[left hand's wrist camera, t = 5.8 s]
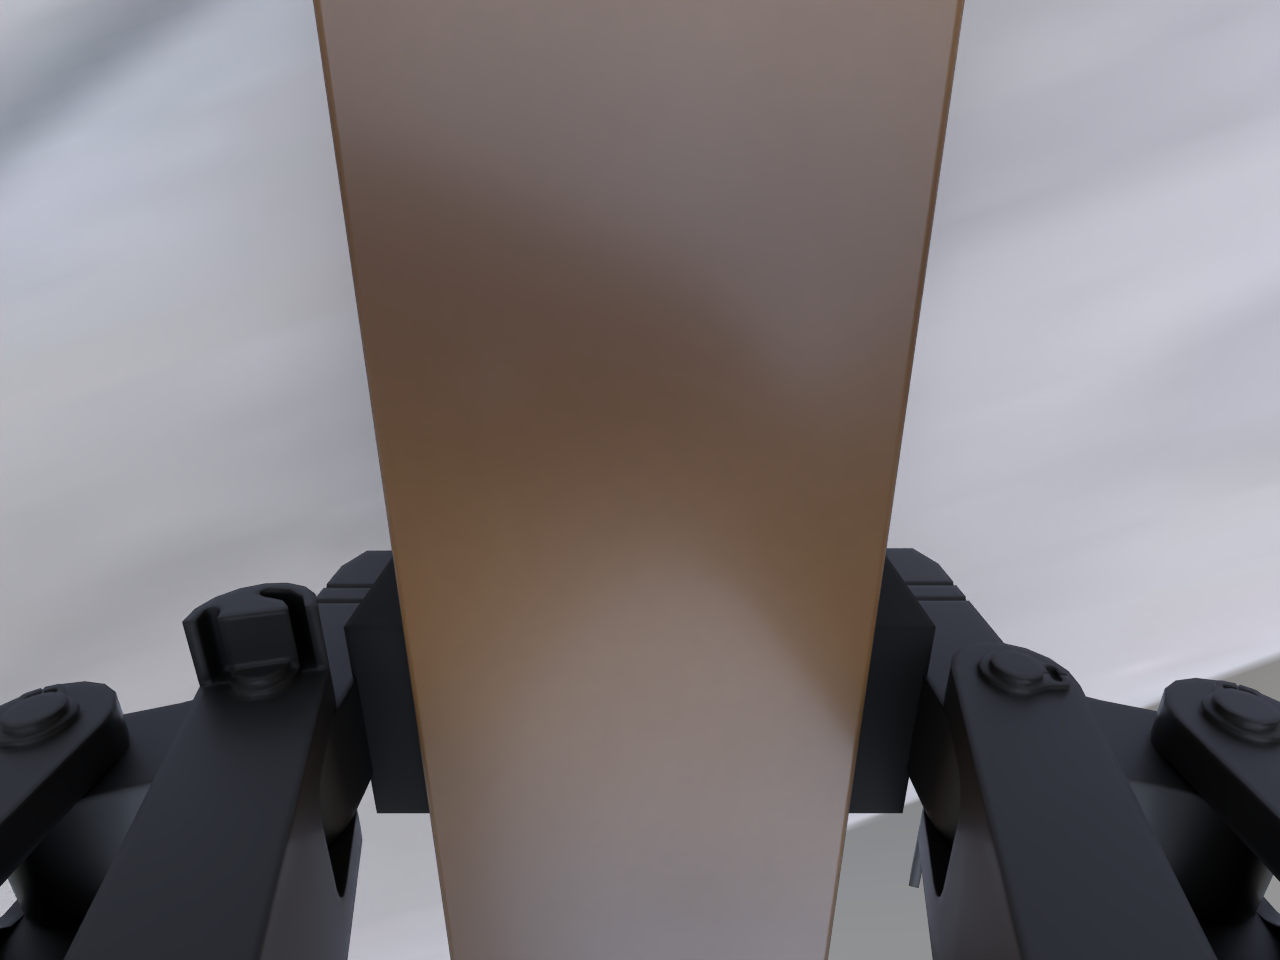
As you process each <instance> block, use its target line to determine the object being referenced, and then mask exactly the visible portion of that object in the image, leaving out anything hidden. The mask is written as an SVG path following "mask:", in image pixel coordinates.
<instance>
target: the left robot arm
mask: <svg viewBox="0 0 1280 960" xmlns="http://www.w3.org/2000/svg"><path fill="white" fill-rule="evenodd" d="M182 623H183V627H184V630H185V634H186V638H187V641H188V645H189V648H190V652H191V656H192V659H193V663H194V666H195V670H196V674H197V677H198V681H199V685H200V687H199V689H198V691H197V693H196V695H195V697H194V699H193V700H191V701H187V702H183V703H179V704H174V705H169V706H164V707H159V708H154V709H149V710H144V711H139V712H134V713H129V714H124V715H123V713H122V710H121V707H120V704H119V701H118V698H117V695H116V692H115V691H113V690H112V689H111V688H109V687H108V686H107V685H105V684H101V683H93V682H86V681H84V682H75V683H67V684H56V685H52V686H47V687H45V688H44V689H41V688H40V689H37V690H34V691H31V692H27V693H25V694H23V695H22V696H20V697H19V698H16V699H14V700H12V701H10V702H7V703H5V704H3V705H1V706H0V886H1V885H2V884H3V883H4V882H5V881H6V880H7V879H8V880H9V882H10V884H11V887H12V889H13V891H14V893H15V896H16V898H17V900H16V902H15V903H14V904H13V905H12V906H11V907H10V908H9V910H8V911H7V912H6V913H5V914H4V915H3V916H2V917H0V960H347V959H348V951H349V943H350V935H351V927H352V918H353V910H354V902H355V894H356V886H357V878H358V870H359V862H360V854H361V846H362V835H361V828H360V822H359V817H358V811H357V808H358V806H359V804H360V801H361V799H362V797H363V795H364V793H365V791H366V789H367V786H368V784H369V782H370V780H371V782H372V788H373V794H374V799H375V805H376V810H377V813H430V812H429V805H428V798H427V791H426V784H425V777H424V770H423V763H422V756H421V749H420V742H419V735H418V728H417V721H416V714H415V707H414V700H413V693H412V686H411V679H410V672H409V665H408V658H407V651H406V644H405V637H404V630H403V623H402V616H401V609H400V603H399V596H398V589H397V582H396V575H395V568H394V561H393V554H392V551H366V552H364V553H363V554H361V555H359V556H358V557H356V558H354V559H353V560H351V561H349V562H348V563H346V564H345V565H343V566H341V568H340V569H339V570H338V571H337V572H336V574H335V575H334V576H333V577H332V579H331V580H330V581H329V582H328V583H327V588H323V590H322V591H321V592H320V593H319V594H318V596H317V597H316V594H315V593H313V592H312V591H311V590H309V589H308V588H307V587H305V586H300V585H295V584H290V583H266V584H260V585H255V586H250V587H245V588H240V589H237V590H234V591H231V592H228V593H226V594H223V595H220V596H217V597H215V598H213V599H211V600H210V601H208V602H206V603H204V604H203V605H201V606H199V607H197V608H196V609H194V610H193V611H192V612H191V613H190V614H189V616H188V617H187V618H186V619H185V620H184V621H183V622H182ZM909 777H910V779H911V782H912V784H913V786H914V788H915V790H916V792H917V794H918V796H919V799H920V801H921V803H922V805H923V811H922V817H921V822H920V827H919V832H918V837H917V843H916V848H915V853H914V858H913V863H912V868H911V875H910V881H909V886H912V887H917V888H919V883H920V878H921V873H922V876H923V884H924V892H925V901H926V909H927V917H928V925H929V933H930V941H931V949H932V957H933V960H1280V914H1279V913H1278V912H1277V911H1276V910H1275V909H1274V908H1273V907H1272V906H1271V905H1270V903H1269V902H1268V901H1267V900H1266V899H1265V898H1264V897H1263V896H1264V894H1265V892H1266V890H1267V887H1268V885H1269V883H1270V881H1271V879H1272V876H1273V875H1274V876H1275V877H1276V878H1277V879H1278V880H1279V881H1280V702H1279V701H1276V700H1274V699H1272V698H1270V697H1268V696H1265V695H1263V694H1261V693H1260V692H1258V691H1257V690H1254V689H1252V688H1248V687H1245V686H1242V685H1239V686H1237V685H1236V684H1235V683H1231V682H1226V681H1217V680H1208V679H1200V678H1192V679H1184V680H1177V681H1175V682H1173V683H1172V684H1171V685H1169V686H1168V687H1167V688H1165V690H1164V693H1163V696H1162V699H1161V702H1160V705H1159V708H1158V711H1153V710H1147V709H1142V708H1137V707H1132V706H1127V705H1122V704H1117V703H1112V702H1107V701H1102V700H1097V699H1093V698H1089V697H1086V696H1085V694H1084V692H1083V690H1082V688H1081V686H1080V685H1079V683H1078V682H1077V681H1076V680H1075V679H1074V677H1073V676H1072V675H1071V674H1070V672H1069V671H1067V670H1066V669H1065V668H1063V667H1062V666H1060V665H1059V664H1057V663H1056V662H1054V661H1053V660H1051V659H1050V658H1048V657H1045V656H1043V655H1041V654H1038V653H1036V652H1033V651H1031V650H1029V649H1026V648H1022V647H1018V646H1013V645H1009V644H1005V643H1003V641H1002V640H1001V639H1000V638H999V637H998V635H997V634H996V633H995V632H994V631H993V629H992V628H991V627H990V626H989V624H988V623H987V622H986V621H985V620H984V618H983V617H982V616H981V615H980V614H979V612H978V611H977V610H976V609H975V608H974V606H973V605H972V604H971V603H970V601H966V597H965V595H964V594H963V593H962V592H961V591H960V589H959V588H958V587H957V586H956V585H953V581H952V580H951V578H950V577H949V576H948V575H947V574H946V572H945V571H944V570H943V569H942V568H941V566H940V565H939V564H938V563H936V562H935V561H933V560H931V559H930V558H928V557H926V556H925V555H923V554H921V553H920V552H918V551H916V550H915V549H913V548H886V555H885V562H884V569H883V576H882V583H881V590H880V597H879V604H878V611H877V618H876V625H875V632H874V639H873V646H872V653H871V660H870V667H869V674H868V681H867V688H866V695H865V702H864V709H863V716H862V723H861V730H860V737H859V744H858V751H857V758H856V765H855V772H854V779H853V786H852V793H851V800H850V807H849V813H903V808H904V802H905V797H906V791H907V785H908V780H909Z"/></svg>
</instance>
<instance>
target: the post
mask: <svg viewBox="0 0 1280 960" xmlns="http://www.w3.org/2000/svg"><path fill="white" fill-rule="evenodd" d="M964 1H965V0H313V3H314V10H315V17H316V24H317V31H318V38H319V45H320V52H321V59H322V66H323V73H324V80H325V87H326V94H327V101H328V108H329V115H330V122H331V129H332V136H333V143H334V149H335V156H336V163H337V170H338V177H339V184H340V191H341V198H342V205H343V212H344V219H345V226H346V233H347V240H348V247H349V254H350V261H351V268H352V275H353V282H354V289H355V296H356V303H357V310H358V317H359V324H360V331H361V338H362V345H363V352H364V359H365V366H366V373H367V379H368V386H369V393H370V400H371V407H372V414H373V421H374V428H375V435H376V442H377V449H378V456H379V463H380V470H381V477H382V484H383V491H384V498H385V505H386V512H387V519H388V526H389V533H390V540H391V547H392V554H393V561H394V568H395V575H396V582H397V589H398V596H399V603H400V609H401V616H402V623H403V630H404V637H405V644H406V651H407V658H408V665H409V672H410V679H411V686H412V693H413V700H414V707H415V714H416V721H417V728H418V735H419V742H420V749H421V756H422V763H423V770H424V777H425V784H426V791H427V798H428V805H429V812H430V819H431V826H432V832H433V839H434V846H435V853H436V860H437V867H438V874H439V881H440V888H441V895H442V902H443V909H444V916H445V923H446V930H447V937H448V944H449V951H450V958H451V960H828V954H829V947H830V940H831V933H832V926H833V919H834V912H835V905H836V898H837V891H838V884H839V877H840V870H841V863H842V856H843V849H844V842H845V835H846V828H847V821H848V814H849V807H850V800H851V793H852V786H853V779H854V772H855V765H856V758H857V751H858V744H859V737H860V730H861V723H862V716H863V709H864V702H865V695H866V688H867V681H868V674H869V667H870V660H871V653H872V646H873V639H874V632H875V625H876V618H877V611H878V604H879V597H880V590H881V583H882V576H883V569H884V562H885V555H886V548H887V541H888V534H889V527H890V520H891V513H892V506H893V499H894V492H895V485H896V478H897V471H898V464H899V457H900V450H901V443H902V436H903V429H904V422H905V415H906V407H907V400H908V393H909V386H910V379H911V372H912V365H913V358H914V351H915V344H916V337H917V330H918V323H919V316H920V309H921V302H922V295H923V288H924V281H925V274H926V267H927V260H928V253H929V246H930V239H931V232H932V225H933V218H934V211H935V204H936V197H937V190H938V183H939V176H940V169H941V162H942V155H943V148H944V141H945V134H946V127H947V120H948V113H949V106H950V99H951V92H952V85H953V78H954V71H955V64H956V57H957V50H958V43H959V36H960V29H961V22H962V15H963V8H964Z"/></svg>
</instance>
